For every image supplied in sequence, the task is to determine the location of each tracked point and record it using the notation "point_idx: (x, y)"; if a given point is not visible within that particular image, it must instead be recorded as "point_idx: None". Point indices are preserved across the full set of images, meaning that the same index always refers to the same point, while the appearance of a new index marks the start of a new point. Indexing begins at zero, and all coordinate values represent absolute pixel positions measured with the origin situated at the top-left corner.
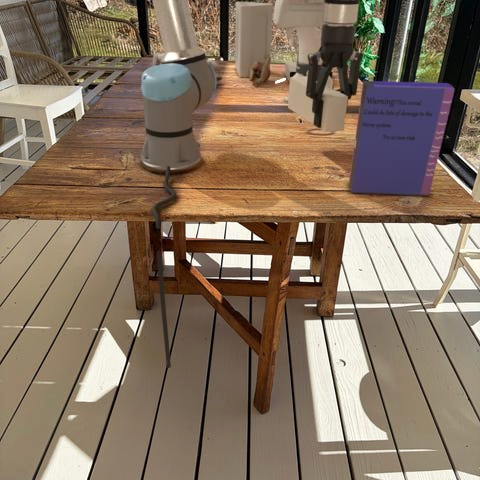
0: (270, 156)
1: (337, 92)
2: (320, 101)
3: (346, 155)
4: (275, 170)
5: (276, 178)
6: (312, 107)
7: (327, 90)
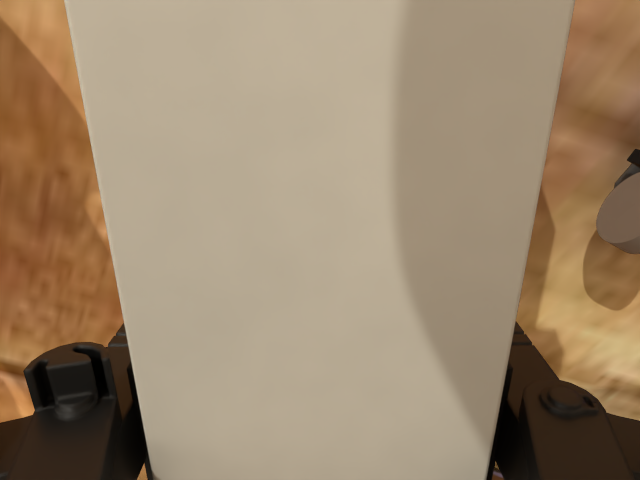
0: (65, 9)
1: (445, 472)
2: (148, 469)
3: None
4: (56, 205)
5: (44, 283)
6: (113, 345)
7: (352, 341)
